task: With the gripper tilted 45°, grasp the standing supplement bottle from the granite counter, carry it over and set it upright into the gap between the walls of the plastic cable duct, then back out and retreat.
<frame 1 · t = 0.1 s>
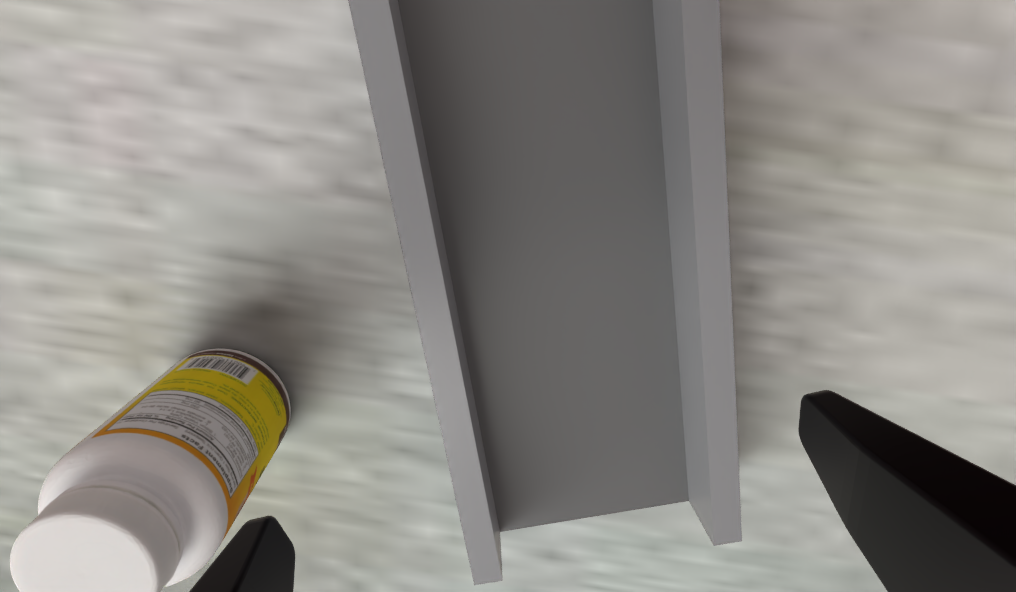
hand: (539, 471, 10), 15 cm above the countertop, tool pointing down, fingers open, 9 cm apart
cable duct: (559, 266, 25), on the countertop
supplement bottle: (233, 399, 26), on the countertop
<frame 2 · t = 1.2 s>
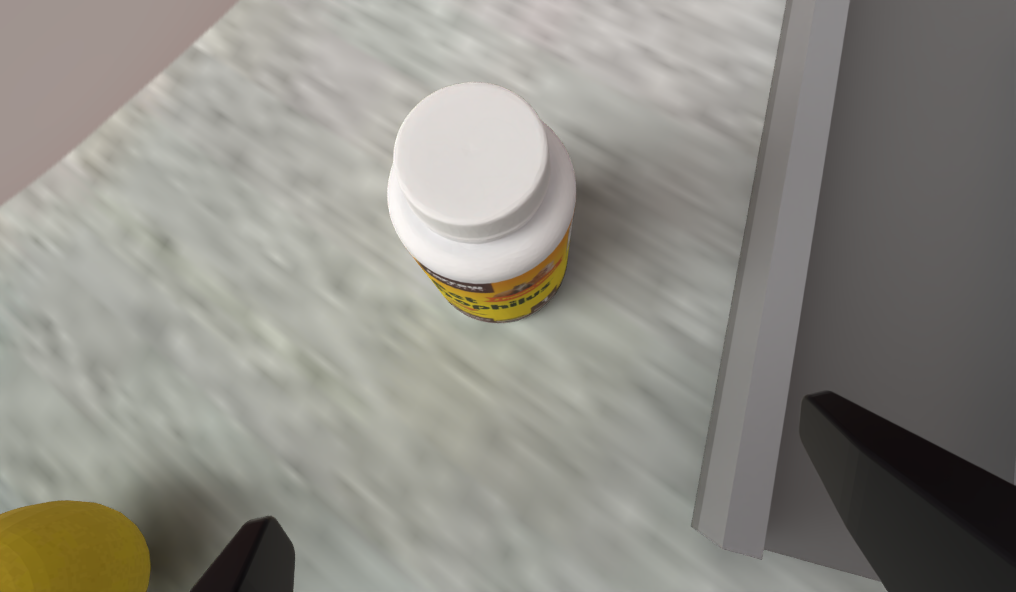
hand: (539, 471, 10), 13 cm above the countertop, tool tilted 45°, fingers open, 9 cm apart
cable duct: (889, 258, 23), on the countertop
supplement bottle: (501, 263, 25), on the countertop
lemon: (130, 561, 23), on the countertop
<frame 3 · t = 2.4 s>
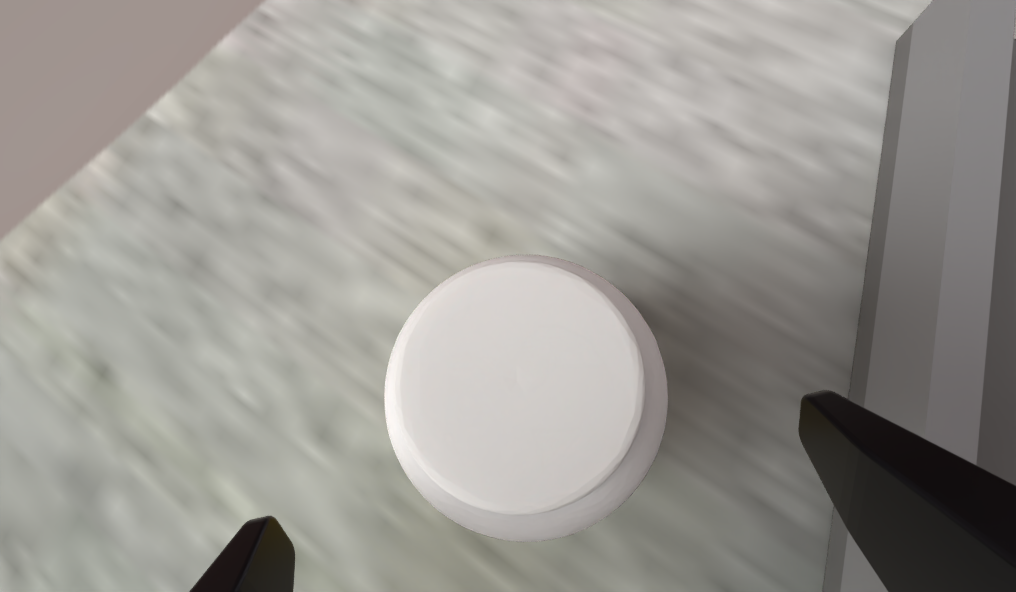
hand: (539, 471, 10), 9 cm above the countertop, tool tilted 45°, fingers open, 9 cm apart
supplement bottle: (534, 406, 19), on the countertop
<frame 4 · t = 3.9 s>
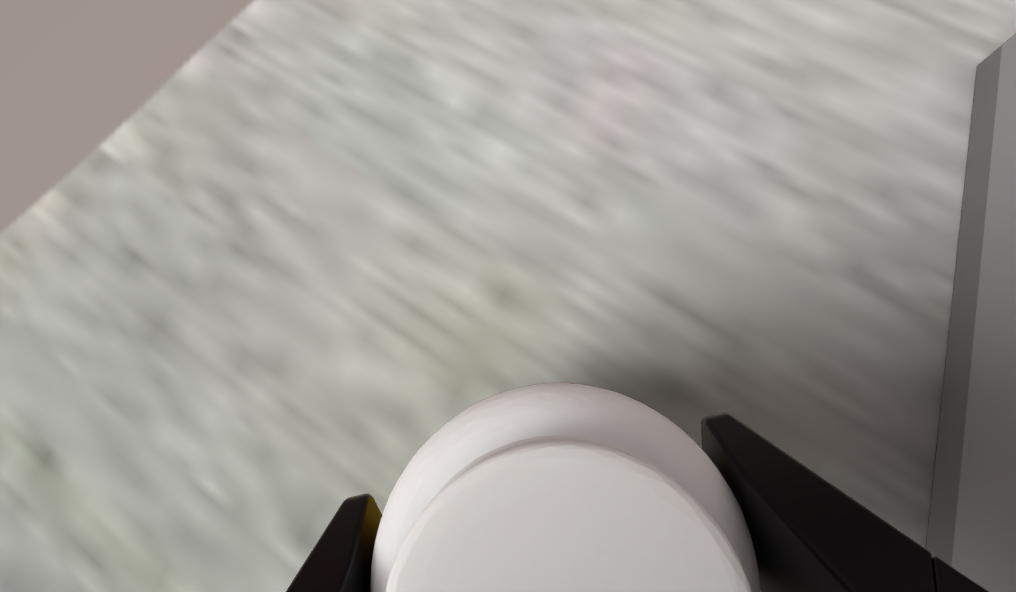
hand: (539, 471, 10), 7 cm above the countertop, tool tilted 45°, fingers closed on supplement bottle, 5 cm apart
supplement bottle: (554, 503, 16), on the countertop, touching gripper
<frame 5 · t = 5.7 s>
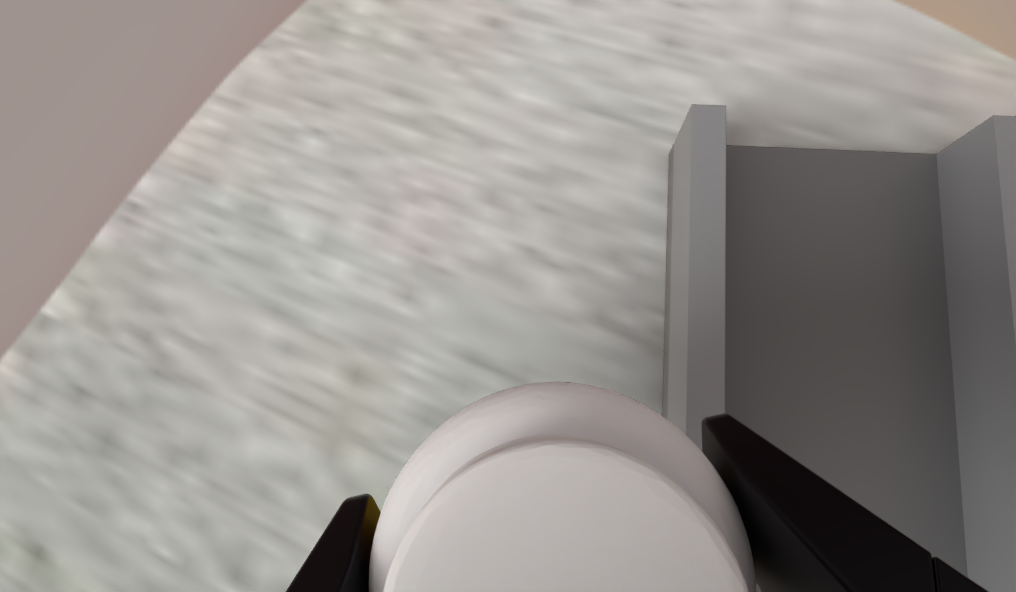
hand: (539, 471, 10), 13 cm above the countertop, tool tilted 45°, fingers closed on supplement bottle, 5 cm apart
cable duct: (815, 455, 22), on the countertop
supplement bottle: (551, 502, 16), point 6 cm above the countertop, touching gripper
when the fingers open (9 cm above the countertop, at t = 7.9 s): supplement bottle drops 1 cm, resting on cable duct.
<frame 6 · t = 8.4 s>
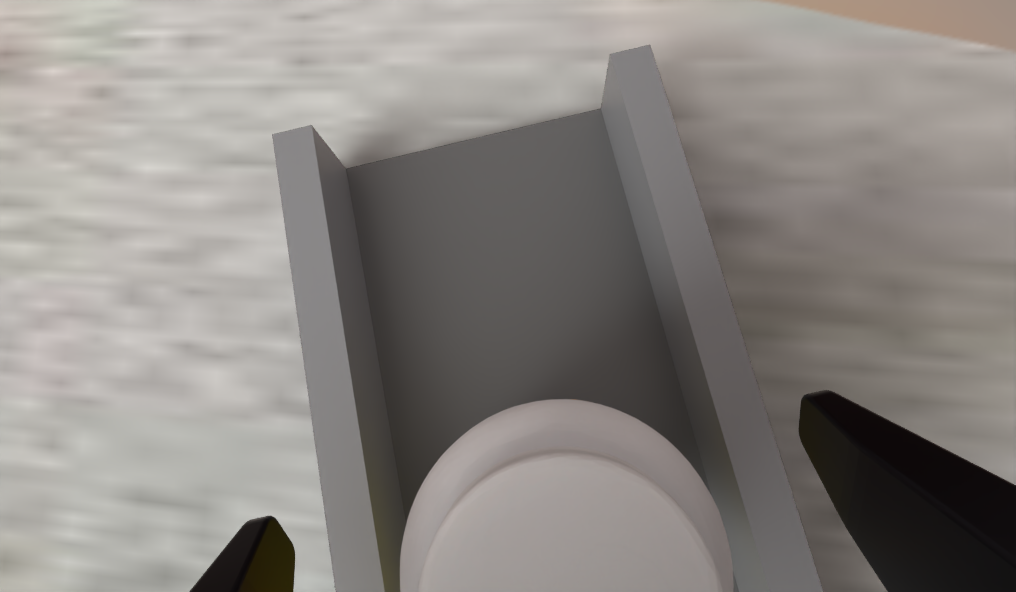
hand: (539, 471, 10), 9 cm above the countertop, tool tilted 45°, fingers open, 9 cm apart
cable duct: (553, 493, 18), on the countertop
supplement bottle: (555, 503, 17), point 1 cm above the countertop, touching cable duct
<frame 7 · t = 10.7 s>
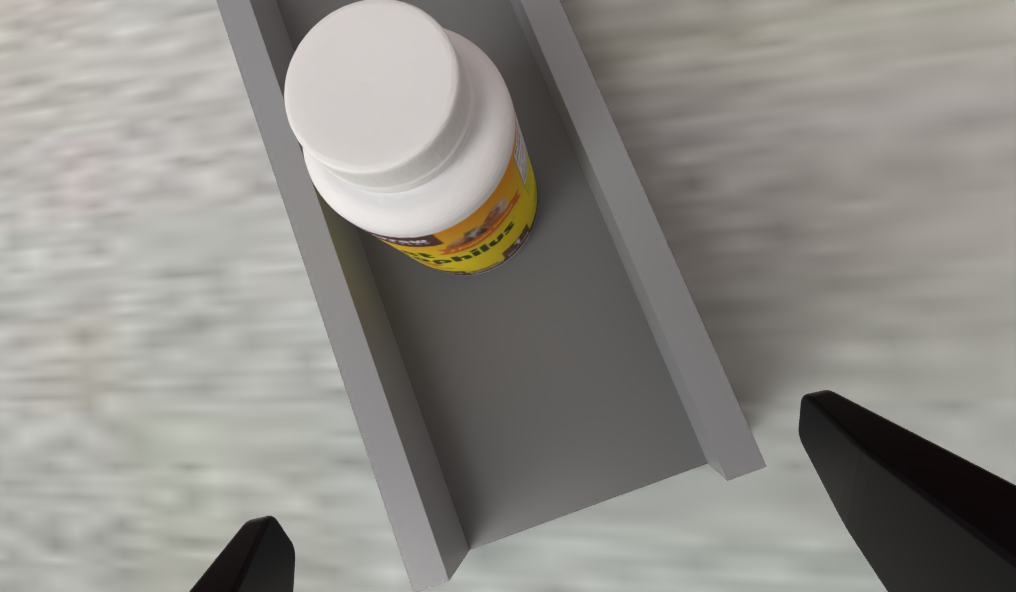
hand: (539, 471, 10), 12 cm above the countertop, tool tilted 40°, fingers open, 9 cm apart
cable duct: (473, 209, 23), on the countertop
supplement bottle: (470, 209, 23), point 1 cm above the countertop, touching cable duct
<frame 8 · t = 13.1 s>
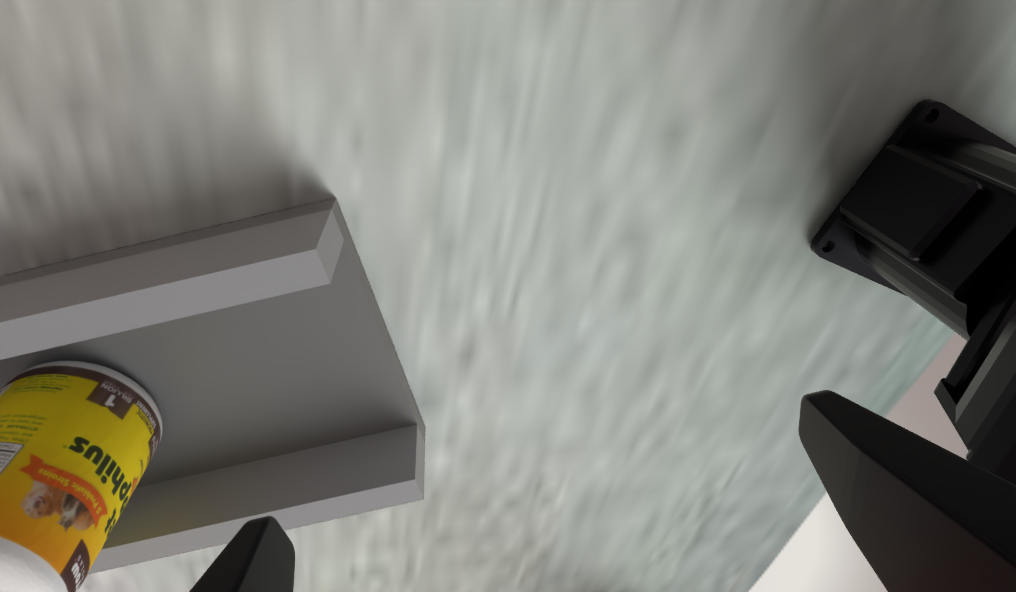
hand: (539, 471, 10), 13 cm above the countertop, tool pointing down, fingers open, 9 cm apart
cable duct: (99, 393, 24), on the countertop
supplement bottle: (94, 405, 23), point 1 cm above the countertop, touching cable duct
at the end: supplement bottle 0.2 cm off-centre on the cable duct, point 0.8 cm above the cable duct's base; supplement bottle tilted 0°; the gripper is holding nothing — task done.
